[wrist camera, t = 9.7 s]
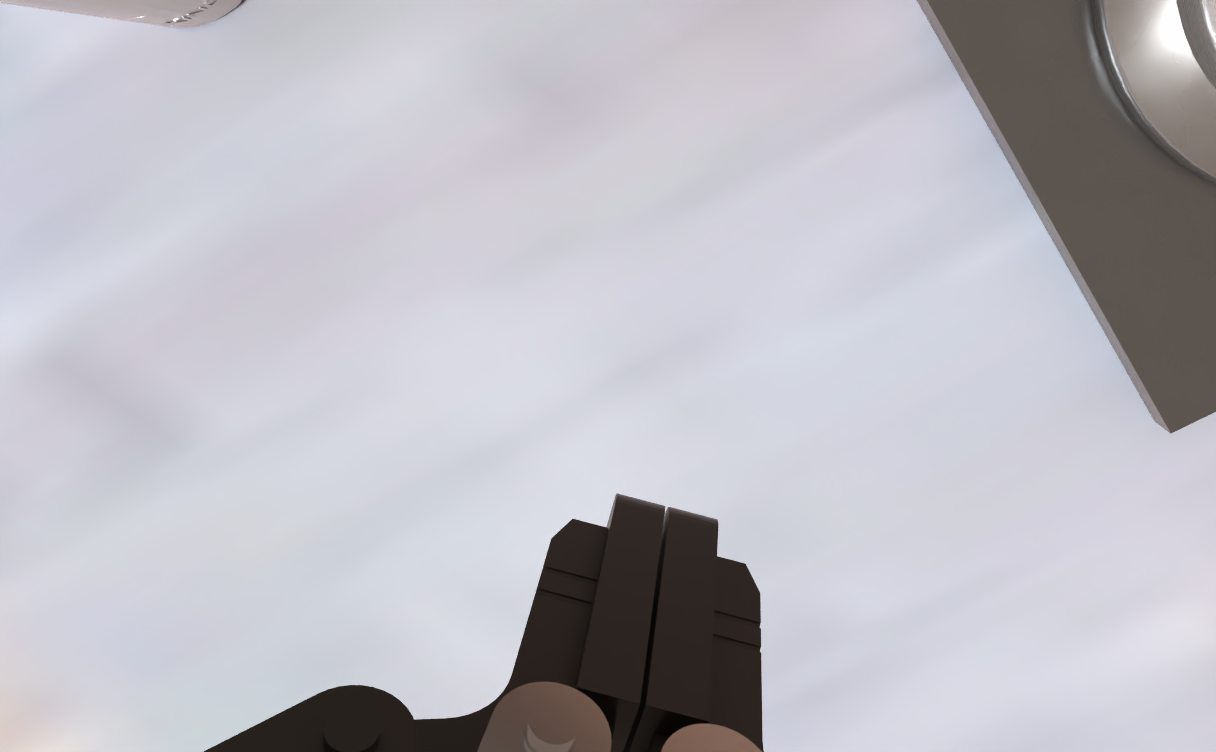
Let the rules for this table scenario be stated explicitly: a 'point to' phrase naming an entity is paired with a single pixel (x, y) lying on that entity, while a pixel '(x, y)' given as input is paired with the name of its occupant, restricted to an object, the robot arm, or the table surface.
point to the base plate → (1110, 168)
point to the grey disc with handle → (1200, 33)
